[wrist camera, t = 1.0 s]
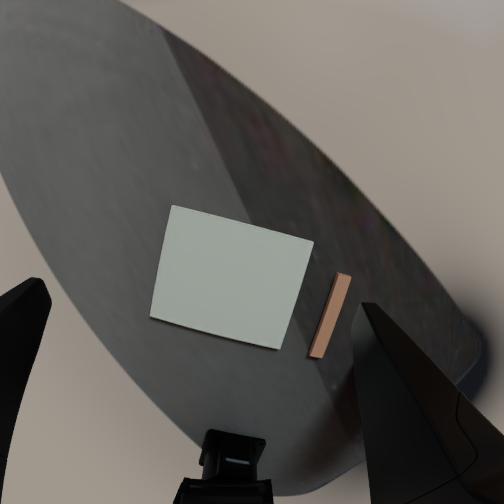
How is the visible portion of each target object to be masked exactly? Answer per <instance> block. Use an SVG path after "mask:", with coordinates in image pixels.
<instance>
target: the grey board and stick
mask: <svg viewBox="0 0 504 504" xmlns="http://www.w3.org/2000/svg"><path fill="white" fill-rule="evenodd" d="M313 244H314V242H312V241H309V240H305V239H302V238H298V237H294V236H291V235H287V234H283V233H280V232H276V231H272V230H269V229H265V228H261V227H257V226H254V225H250V224H246V223H242V222H238V221H235V220H231V219H227V218H223V217H219V216H215V215H211V214H207V213H203V212H200V211H196V210H192V209H188V208H184V207H180V206H176V205H172V207H171V211H170V215H169V220H168V224H167V229H166V233H165V238H164V243H163V247H162V252H161V257H160V262H159V267H158V272H157V277H156V283H155V288H154V294H153V300H152V305H151V311H150V316H151V317H154V318H158V319H161V320H165V321H168V322H171V323H175V324H178V325H182V326H186V327H189V328H193V329H197V330H200V331H204V332H208V333H212V334H216V335H220V336H223V337H228V338H232V339H236V340H240V341H244V342H248V343H253V344H257V345H262V346H266V347H271V348H275V349H280V347H281V344H282V342H283V339H284V336H285V333H286V330H287V327H288V324H289V321H290V318H291V315H292V312H293V308H294V305H295V302H296V299H297V296H298V293H299V290H300V287H301V283H302V280H303V277H304V274H305V270H306V267H307V264H308V261H309V257H310V254H311V250H312V247H313ZM350 280H351V277H350V276H349V275H345V274H342V273H338V272H337V273H336V276H335V279H334V282H333V285H332V289H331V292H330V294H329V297H328V300H327V303H326V306H325V309H324V312H323V315H322V318H321V321H320V323H319V326H318V329H317V332H316V334H315V337H314V340H313V342H312V345H311V348H310V350H309V355H310V356H313V357H318V358H322V357H323V354H324V352H325V349H326V347H327V344H328V342H329V339H330V336H331V334H332V331H333V329H334V326H335V323H336V320H337V318H338V315H339V312H340V309H341V307H342V304H343V301H344V298H345V295H346V292H347V289H348V286H349V283H350Z"/></svg>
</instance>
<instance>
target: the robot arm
mask: <svg viewBox="0 0 504 504" xmlns="http://www.w3.org/2000/svg"><path fill="white" fill-rule="evenodd" d="M51 306H52V300H51V297H50V295H49V292H48V290H47V288H46V285H45V283H44V281H43V280H42V279H40V278H34V277H31V278H29V279H27V280H25V281H24V282H22V283H21V284H19V285H17V286H16V287H14V288H12V289H11V290H9V291H8V292H6V293H5V294H3V295H2V296H0V504H1V497H2V490H3V482H4V476H5V470H6V465H7V458H8V453H9V448H10V444H11V439H12V435H13V431H14V426H15V423H16V419H17V415H18V411H19V408H20V404H21V401H22V398H23V394H24V391H25V387H26V384H27V381H28V378H29V375H30V372H31V369H32V366H33V363H34V361H35V358H36V355H37V352H38V349H39V346H40V343H41V339H42V336H43V332H44V329H45V325H46V322H47V319H48V315H49V312H50V309H51ZM351 335H352V348H353V362H354V377H355V386H356V393H357V399H358V405H359V411H360V418H361V424H362V431H363V438H364V445H365V453H366V461H367V469H368V478H369V487H370V498H371V504H504V435H503V434H502V433H501V432H500V431H499V430H498V429H497V428H496V427H495V426H493V425H492V423H491V422H490V421H488V420H487V419H486V418H485V417H484V416H483V415H482V414H481V413H480V412H479V410H477V408H476V407H475V406H474V405H473V404H472V403H471V402H470V401H469V400H468V399H467V398H466V396H465V395H464V394H463V393H462V392H461V391H459V389H458V388H457V387H456V386H455V384H454V383H453V382H452V381H451V380H450V379H449V378H448V377H447V376H446V375H445V374H444V373H443V371H442V370H441V369H440V368H439V367H438V366H437V365H436V364H435V363H434V362H433V361H432V360H431V359H430V358H429V357H428V356H427V354H426V353H425V352H424V351H423V350H422V349H421V348H420V347H419V346H418V345H417V344H416V343H415V342H414V341H413V340H412V339H411V338H410V337H409V336H408V335H407V334H406V333H405V332H404V331H403V330H402V329H401V328H400V327H399V326H398V325H397V324H396V323H395V322H394V321H393V320H392V319H391V318H390V317H389V316H388V314H387V313H386V312H385V311H383V310H382V309H381V308H380V307H379V306H378V305H377V304H376V303H373V302H362V303H360V305H359V306H358V309H357V312H356V315H355V317H354V320H353V323H352V328H351ZM211 433H213V434H211ZM265 445H266V441H265V440H264V439H261V438H255V437H249V436H243V435H238V434H233V433H228V432H223V431H218V430H214V429H209V430H208V431H207V435H206V438H205V442H204V445H203V449H202V453H201V456H200V459H199V465H201V466H204V467H203V474H202V479H190V478H184V479H183V482H182V483H181V485H180V487H179V489H178V492H177V494H176V497H175V499H174V501H173V504H274V503H273V493H272V484H271V479H266V480H257V463H258V461H259V458H260V456H261V454H262V452H263V450H264V448H265ZM202 462H203V463H202Z"/></svg>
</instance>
